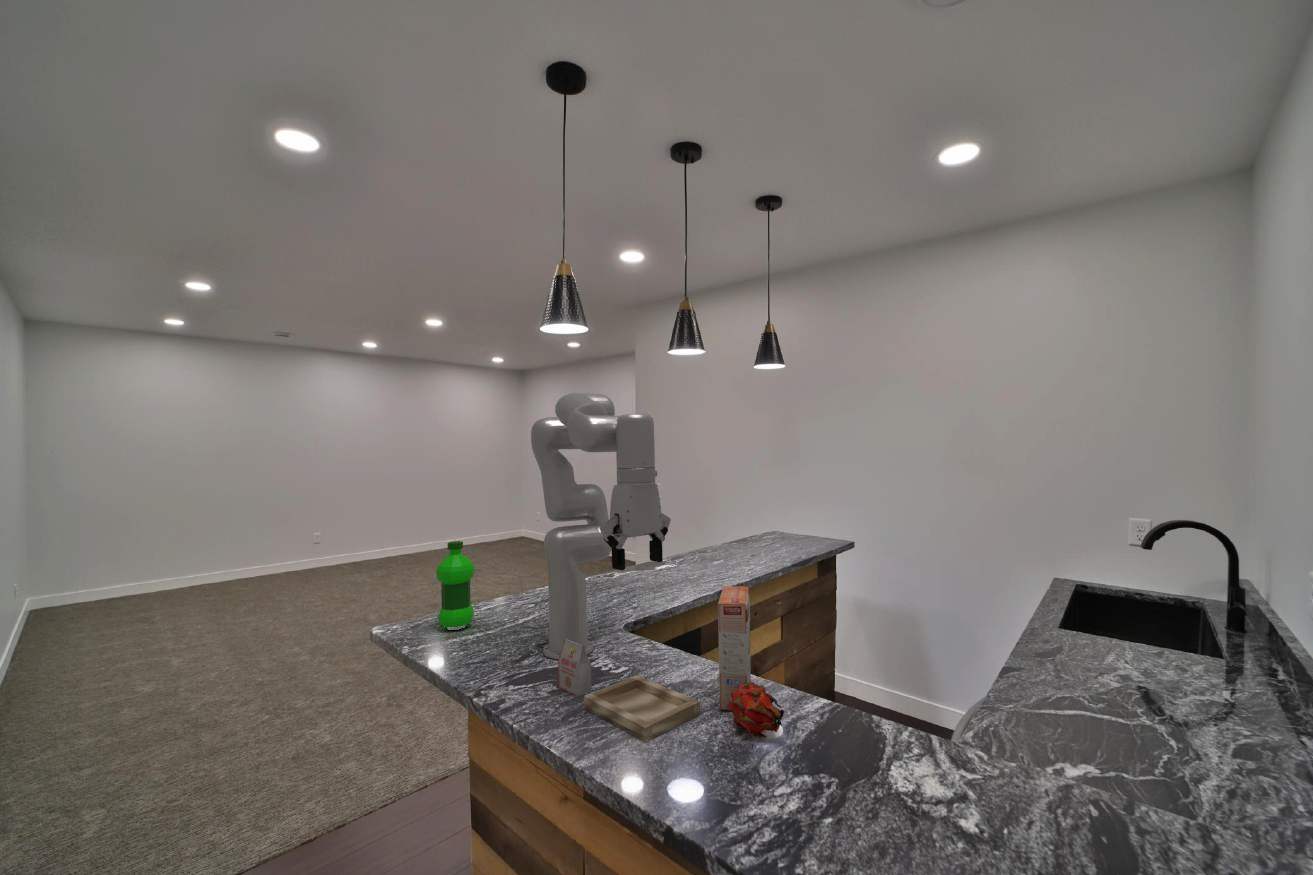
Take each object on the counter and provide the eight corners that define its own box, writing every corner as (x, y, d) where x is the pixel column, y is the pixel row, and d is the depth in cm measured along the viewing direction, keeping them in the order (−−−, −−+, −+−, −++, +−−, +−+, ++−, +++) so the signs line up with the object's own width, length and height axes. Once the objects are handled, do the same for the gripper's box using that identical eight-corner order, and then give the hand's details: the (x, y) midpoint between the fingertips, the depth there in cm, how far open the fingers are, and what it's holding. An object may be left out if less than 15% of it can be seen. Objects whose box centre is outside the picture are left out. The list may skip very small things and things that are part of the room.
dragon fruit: (735, 721, 106) (779, 760, 96) (708, 706, 102) (751, 744, 92) (757, 681, 108) (803, 714, 98) (732, 664, 104) (777, 697, 94)
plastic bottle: (465, 620, 170) (464, 538, 170) (480, 628, 162) (479, 542, 163) (432, 628, 163) (431, 542, 164) (446, 636, 155) (445, 546, 156)
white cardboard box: (572, 682, 123) (571, 636, 123) (591, 691, 118) (590, 643, 118) (558, 687, 120) (557, 640, 120) (577, 696, 115) (576, 648, 115)
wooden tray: (584, 708, 110) (584, 696, 110) (637, 687, 119) (637, 675, 119) (645, 742, 96) (645, 727, 96) (700, 714, 106) (699, 701, 106)
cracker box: (750, 713, 106) (747, 603, 107) (718, 711, 107) (715, 602, 108) (752, 683, 120) (750, 585, 120) (724, 681, 121) (722, 584, 122)
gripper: (655, 475, 118) (657, 556, 117) (588, 479, 106) (590, 569, 105) (680, 475, 112) (682, 560, 112) (613, 480, 100) (615, 575, 100)
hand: (637, 565), depth 108 cm, fingers open, 9 cm apart
